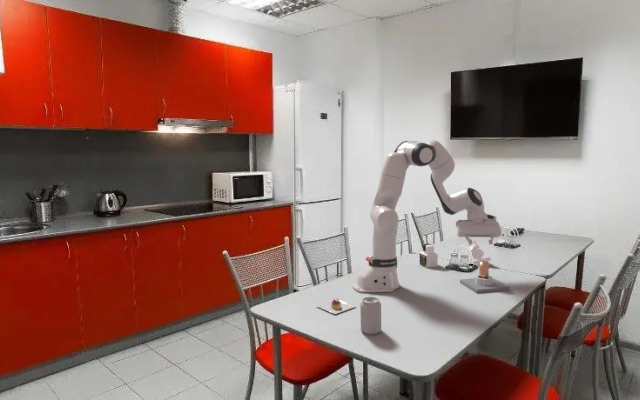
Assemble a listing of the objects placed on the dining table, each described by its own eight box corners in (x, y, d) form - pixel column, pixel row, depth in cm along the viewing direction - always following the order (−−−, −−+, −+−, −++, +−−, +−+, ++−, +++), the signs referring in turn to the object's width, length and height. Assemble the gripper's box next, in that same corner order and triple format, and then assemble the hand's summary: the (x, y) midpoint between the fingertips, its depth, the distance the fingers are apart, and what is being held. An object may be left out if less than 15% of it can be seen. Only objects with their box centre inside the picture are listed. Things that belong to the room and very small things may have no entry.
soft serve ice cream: (469, 270, 226) (462, 245, 226) (461, 265, 241) (454, 241, 241) (492, 264, 225) (485, 239, 225) (483, 259, 240) (476, 235, 240)
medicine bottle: (419, 264, 234) (419, 243, 233) (430, 263, 236) (430, 242, 235) (426, 268, 227) (426, 246, 226) (437, 266, 229) (437, 245, 228)
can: (379, 326, 157) (379, 295, 155) (383, 335, 149) (382, 302, 148) (359, 327, 156) (358, 296, 155) (362, 336, 149) (361, 303, 147)
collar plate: (476, 293, 188) (476, 283, 187) (459, 282, 202) (459, 273, 202) (509, 289, 190) (509, 280, 190) (490, 279, 205) (490, 270, 205)
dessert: (316, 308, 177) (315, 297, 176) (337, 301, 185) (336, 290, 184) (335, 316, 168) (334, 305, 167) (356, 308, 175) (356, 297, 175)
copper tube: (482, 284, 194) (482, 263, 193) (477, 282, 198) (477, 261, 196) (490, 284, 195) (490, 263, 193) (485, 281, 198) (485, 260, 197)
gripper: (456, 216, 210) (458, 239, 202) (499, 216, 207) (504, 240, 198) (454, 223, 215) (457, 246, 207) (496, 223, 212) (501, 247, 203)
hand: (480, 243), depth 203 cm, fingers open, 8 cm apart
